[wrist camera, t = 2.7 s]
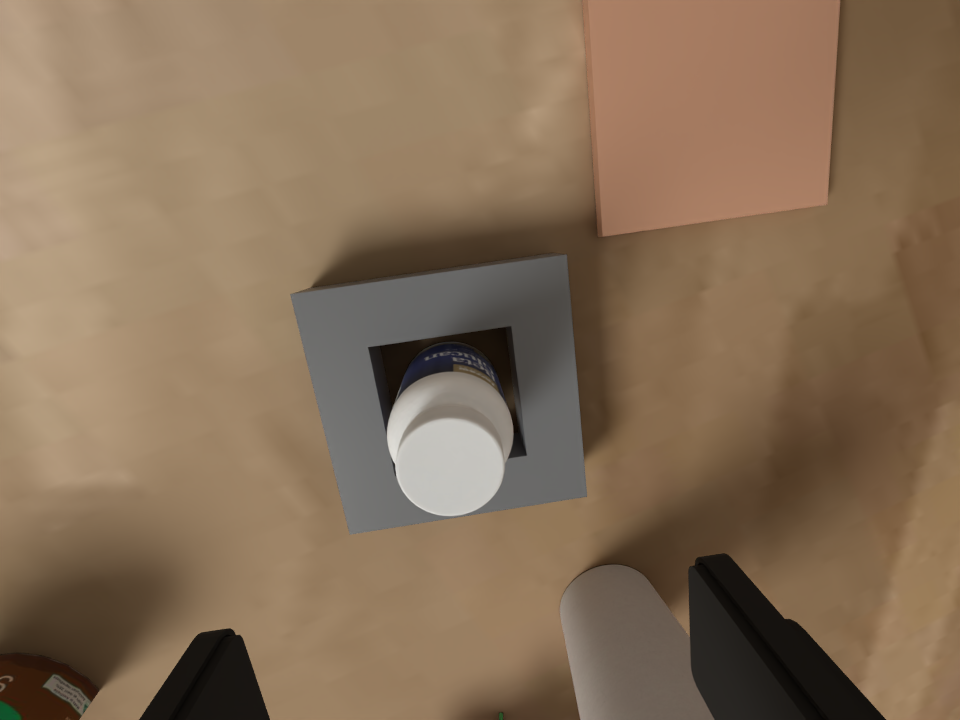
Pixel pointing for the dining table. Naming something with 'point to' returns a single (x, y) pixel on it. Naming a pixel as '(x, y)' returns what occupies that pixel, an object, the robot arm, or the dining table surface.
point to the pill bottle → (450, 430)
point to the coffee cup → (627, 650)
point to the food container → (42, 689)
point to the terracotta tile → (708, 108)
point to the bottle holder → (434, 313)
